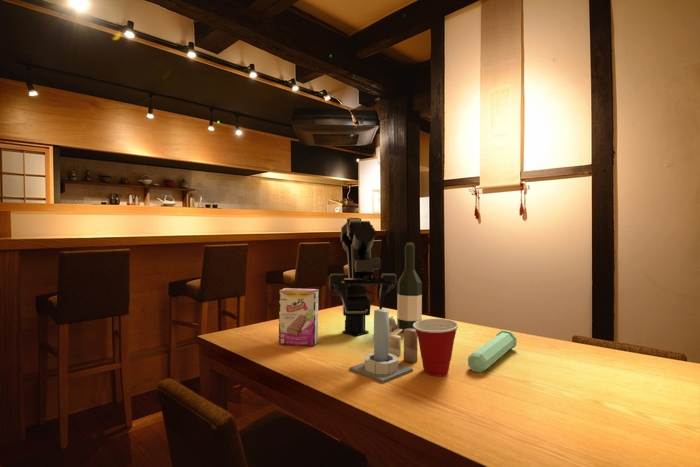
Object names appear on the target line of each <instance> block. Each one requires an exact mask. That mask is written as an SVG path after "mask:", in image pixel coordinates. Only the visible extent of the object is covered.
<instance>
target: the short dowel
mask: <svg viewBox="0 0 700 467" xmlns="http://www.w3.org/2000/svg"><path fill="white" fill-rule="evenodd" d="M401 339H402V336H401V335H399V334H398V335H389V353H390V354H393V355H396V356H397V358H398V357H401V353H402V351H401V350H402V349H401V348H402V341H401Z"/></svg>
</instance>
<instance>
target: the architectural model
mask: <svg viewBox="0 0 700 467" xmlns="http://www.w3.org/2000/svg"><path fill="white" fill-rule="evenodd" d="M397 325H398V324H397V321H396V320H395V318H394V316H392V315H391V316H389V335H398V336H399V334H400V333H402V332H401V331H402V329H398V326H397Z"/></svg>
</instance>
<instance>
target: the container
mask: <svg viewBox="0 0 700 467" xmlns="http://www.w3.org/2000/svg"><path fill="white" fill-rule="evenodd" d="M516 347H517V336H515V335H514V333H513V332H512V331H511V330H505V329H502V330H501V331H499V332H498V333H497V334H496V336H495V337H493V338H492V339H490V340H489V341H488V342H486V343H485V344H484V345H482V346H481V347H479V348H478V349H476V350H475V351H473V352H472V353H471V354H469V355H468V356H467V366H468V367H469V368H470V370H471V371H472V372H476V373H483V372H485V370H487V369H489V367H491V366H492V365H493V364H494V363H496V361H497V360H499V359H500V358H501V357H503V356H504V355H505V354H506V353H507V352H508V351H511V350H513V349H514V348H516ZM509 349H510V350H509Z"/></svg>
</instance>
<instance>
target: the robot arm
mask: <svg viewBox="0 0 700 467" xmlns="http://www.w3.org/2000/svg"><path fill="white" fill-rule="evenodd" d="M376 235H377V230H376V229H375V228H374V226H373V224H371V221H370V220H362V218H360V217H349V218H347V219H346V223H345V224H343V225H342V227H341V230H340V243H342V249H343V250H344V251H345V253H346V255H347V269H348V270H347V271H348V277H345V275H344V273H331V274H330V275H329V277H328V278H329V280H328V281H329V283H328V284H329V286H328V288H329V290H331V291H333V292H334V293H337V294H338V296H339V298H340V300H341V302H342V315H343V316H344V317H345V320H344V330H342V333H343V334H347V335H350V336H354V337H357V336H362V335H365V334H369V333H370V332H369V330H366V316H368V317H369V316H370V315H371V307H372V301H371V299H370V297H369V296H368V292H367V291H368V290H367V287H366V285H371V286H373V285H375V286H376V285H378V286H379V294H378V295H379V296H378V297H379V300H378V301H379V302H378V303H379V304H378V308H379V309H383V307H384V302H385V298H386V295H387V293H390V292H391V290H394V289H395V287H396V286H397V284H398V279H397V275H396V274H395V273H394V272H393V273H384V272H383V273H381V276H380V277H374V274H375V272H374V271H375V270H380V269H381V258H380V257H381V256H380V257H379V256H378V257H377V256H376V257H372V252H371V249H372V247H373V245H374V241H375V237H376ZM347 285H348V286H347Z"/></svg>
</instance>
